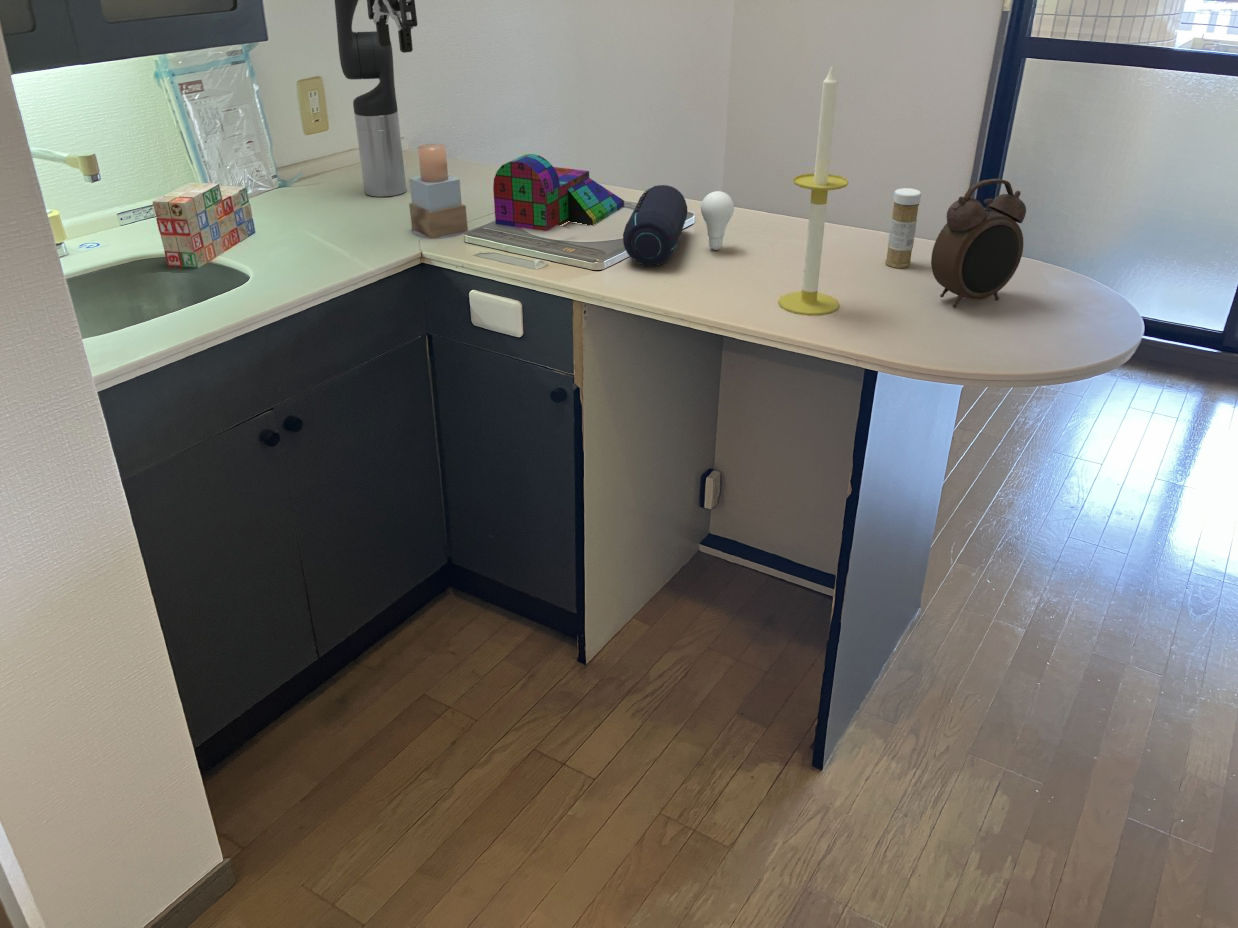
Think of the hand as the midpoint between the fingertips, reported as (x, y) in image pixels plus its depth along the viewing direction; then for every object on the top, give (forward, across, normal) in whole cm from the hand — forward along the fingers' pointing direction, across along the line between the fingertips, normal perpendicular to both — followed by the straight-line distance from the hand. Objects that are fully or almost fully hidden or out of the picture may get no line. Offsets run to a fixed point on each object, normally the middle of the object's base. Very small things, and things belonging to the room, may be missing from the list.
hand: (395, 49), depth 186 cm
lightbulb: (+34, +48, +38) cm, 70 cm away
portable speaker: (+34, +41, +29) cm, 61 cm away
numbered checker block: (+34, +13, +27) cm, 46 cm away
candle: (+33, +78, +30) cm, 90 cm away
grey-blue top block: (+28, +7, +2) cm, 29 cm away
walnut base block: (+33, +7, +2) cm, 34 cm away
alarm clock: (+33, +94, +52) cm, 113 cm away
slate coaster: (+34, +7, +2) cm, 35 cm away
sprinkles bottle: (+34, +76, +57) cm, 101 cm away
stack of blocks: (+34, -13, -36) cm, 51 cm away
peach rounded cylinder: (+23, +7, +2) cm, 24 cm away
